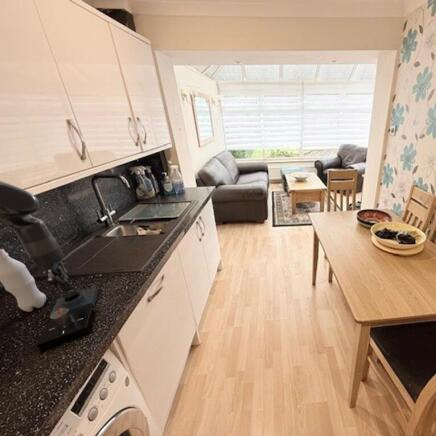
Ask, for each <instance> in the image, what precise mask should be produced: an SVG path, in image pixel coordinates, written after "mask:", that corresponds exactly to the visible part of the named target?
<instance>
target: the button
mask: <svg viewBox="0 0 436 436" xmlns="http://www.w3.org/2000/svg"><path fill="white" fill-rule="evenodd" d="M78 296H79V293H78V291H77V289H75V290H69V291H67V292H65V294H64V295H63V297H64V299H65V300H66V301H71V300H74V299H76V298H77V297H78Z"/></svg>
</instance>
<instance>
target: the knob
mask: <svg viewBox="0 0 436 436" xmlns="http://www.w3.org/2000/svg"><path fill="white" fill-rule="evenodd" d="M50 314H51V313H50ZM49 316H50V315H49ZM49 319H50V321H53V323H54V324H55V326H56V327H57V329H59V330H63V329H66V328H68V327H70V326H71V325H72V324H73V323H74V322H75V319H74V317H73V316H72V314H71V313H70V311H69V310H68V308H59V310H57V311H55V312H54V313H52V314H51V316H50V317H49Z"/></svg>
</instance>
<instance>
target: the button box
mask: <svg viewBox="0 0 436 436" xmlns="http://www.w3.org/2000/svg"><path fill="white" fill-rule="evenodd" d="M76 290H77V289H76ZM77 291H78V293H79V296H78V297H77V298H76V299H74V300H71V301H66V300H65V299H64V296H62V297H58V298H57V300H56V302H55V304H54V305H53V307H52V310H51V313H50V314H49V318H50V316H51V314H52V313H54V312H55V311H57V310H59V308H68V310H69V311H70V313H71V314H72V313H75V312H78V311H81V310H84V309H87V308H90V307H92V308H95V305H96V301H97V298H98V294H99V289H98V287H97V286H94V287H91V288H88V289H84V290H83V289H80V290H77Z"/></svg>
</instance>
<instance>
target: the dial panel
mask: <svg viewBox="0 0 436 436" xmlns="http://www.w3.org/2000/svg"><path fill="white" fill-rule="evenodd" d="M95 315H96V312H95V310H94V307H90V308H87V309H84V310H81V311H78V312H75V313H72V316H73V317H74V319H75V322H74V323H73V324H72V325H71V326H70V327H68V328H66V329H63V330H59V329H57V327H56V326H55V324H54V323H53V321H52V320H48V321H47V323H46V325H45V327H44V329H43V331H42V333H41V334H40V335H41V336H40V338H39V339H38V342H37V343H36V346H37V347H38V349H39V350H40V351H41V352H44V351H47V350H49V349H53V348H55V347H59V346H60V345H63V344H66V343H68V342H71V341H75V340H76V339H79V338H82V337H84V336H87V335H90V334H91V331H92V327H93V323H94V321H95Z"/></svg>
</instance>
